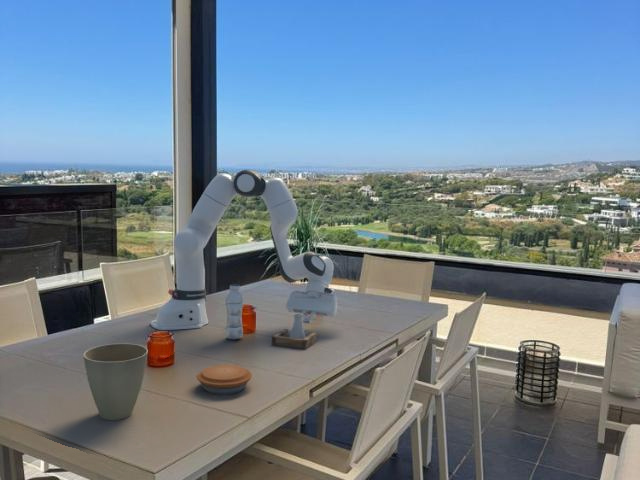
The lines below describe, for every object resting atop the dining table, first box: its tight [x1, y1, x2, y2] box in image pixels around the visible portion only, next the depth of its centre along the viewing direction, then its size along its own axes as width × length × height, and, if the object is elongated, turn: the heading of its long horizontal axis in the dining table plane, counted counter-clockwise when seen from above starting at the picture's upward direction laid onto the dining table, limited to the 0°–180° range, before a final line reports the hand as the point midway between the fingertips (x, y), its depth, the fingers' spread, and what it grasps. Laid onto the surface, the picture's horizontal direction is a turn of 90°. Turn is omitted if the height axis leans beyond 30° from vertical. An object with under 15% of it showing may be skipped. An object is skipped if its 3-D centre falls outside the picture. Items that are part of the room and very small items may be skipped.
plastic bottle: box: [224, 284, 244, 340], centre depth 213 cm, size 6×7×20 cm
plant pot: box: [83, 342, 149, 421], centre depth 143 cm, size 15×15×16 cm
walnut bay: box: [271, 328, 318, 350], centre depth 211 cm, size 12×13×3 cm
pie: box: [196, 364, 253, 395], centre depth 164 cm, size 15×16×5 cm
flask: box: [288, 313, 307, 339], centre depth 213 cm, size 7×7×10 cm
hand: (306, 322), depth 222 cm, fingers closed
